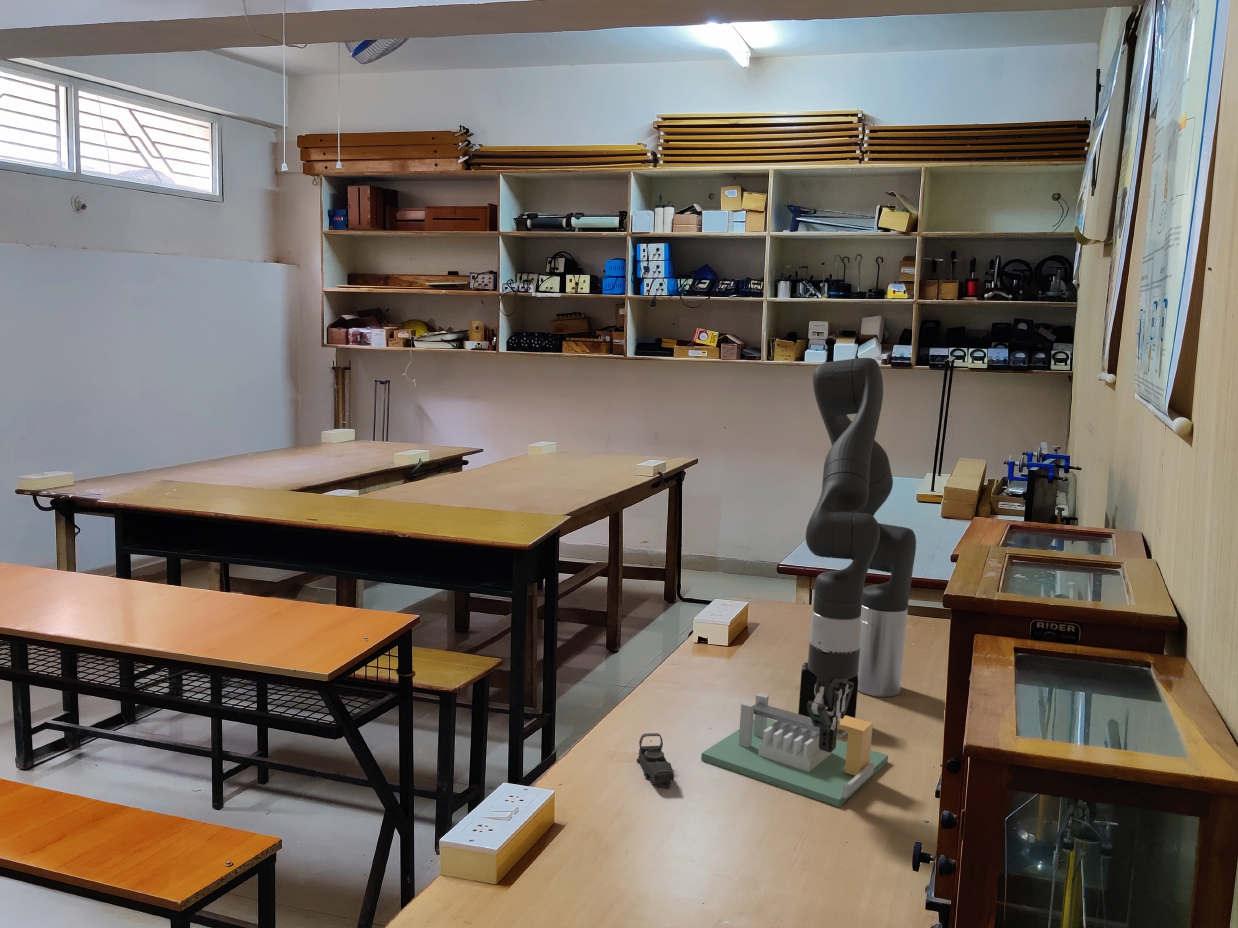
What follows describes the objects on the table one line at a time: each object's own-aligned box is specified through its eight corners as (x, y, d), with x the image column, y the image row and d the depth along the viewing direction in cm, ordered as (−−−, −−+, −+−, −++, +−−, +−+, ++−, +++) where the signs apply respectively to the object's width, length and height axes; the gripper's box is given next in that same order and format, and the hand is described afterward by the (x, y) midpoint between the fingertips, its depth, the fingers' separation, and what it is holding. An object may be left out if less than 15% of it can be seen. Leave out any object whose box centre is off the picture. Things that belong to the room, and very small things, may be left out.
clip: (837, 758, 161) (840, 713, 160) (868, 768, 158) (872, 722, 157) (827, 766, 158) (830, 721, 156) (859, 776, 154) (863, 730, 153)
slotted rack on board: (758, 722, 177) (761, 677, 176) (890, 762, 163) (895, 714, 162) (701, 759, 161) (704, 711, 160) (842, 808, 147) (847, 755, 146)
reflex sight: (650, 791, 150) (651, 760, 149) (636, 761, 160) (637, 732, 159) (675, 790, 151) (676, 759, 150) (659, 760, 161) (661, 731, 160)
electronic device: (854, 729, 177) (858, 675, 175) (797, 722, 178) (801, 669, 177) (853, 719, 181) (858, 667, 179) (798, 713, 183) (802, 661, 181)
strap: (756, 706, 168) (757, 700, 168) (848, 732, 158) (848, 726, 158) (746, 712, 165) (747, 707, 165) (839, 739, 156) (839, 733, 155)
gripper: (828, 625, 156) (821, 728, 159) (793, 647, 145) (785, 757, 148) (874, 635, 152) (866, 741, 155) (841, 659, 141) (833, 772, 144)
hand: (826, 749), depth 151 cm, fingers closed
